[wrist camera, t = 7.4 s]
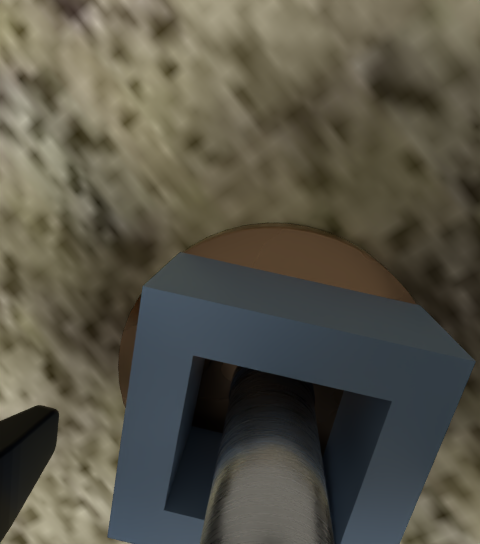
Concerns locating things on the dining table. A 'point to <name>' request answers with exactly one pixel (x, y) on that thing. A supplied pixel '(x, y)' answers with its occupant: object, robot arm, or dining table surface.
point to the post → (271, 396)
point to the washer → (289, 363)
